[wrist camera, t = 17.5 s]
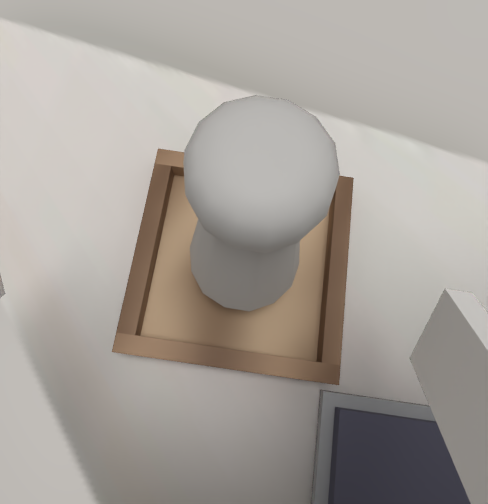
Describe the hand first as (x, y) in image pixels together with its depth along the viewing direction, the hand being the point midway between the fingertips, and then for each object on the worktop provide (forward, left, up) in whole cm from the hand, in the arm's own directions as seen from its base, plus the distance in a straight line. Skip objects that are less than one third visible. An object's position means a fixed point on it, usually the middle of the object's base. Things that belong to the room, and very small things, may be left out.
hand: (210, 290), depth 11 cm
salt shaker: (-1, -3, -11) cm, 11 cm away
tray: (-1, -3, -11) cm, 11 cm away
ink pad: (-11, +8, -11) cm, 17 cm away
